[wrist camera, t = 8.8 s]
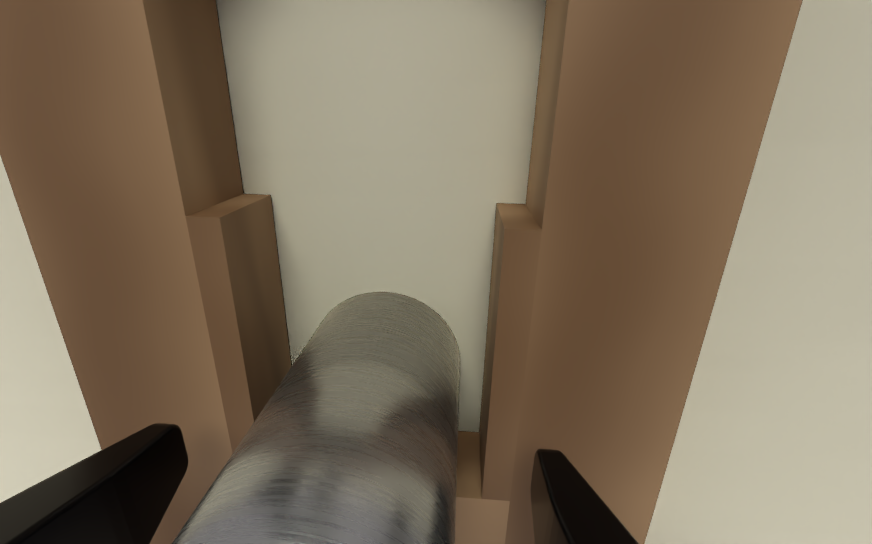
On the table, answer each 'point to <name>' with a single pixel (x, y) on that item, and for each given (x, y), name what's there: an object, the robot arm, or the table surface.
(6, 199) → the table surface
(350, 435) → the peg
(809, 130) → the table surface
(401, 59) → the table surface
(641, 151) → the keyhole board
